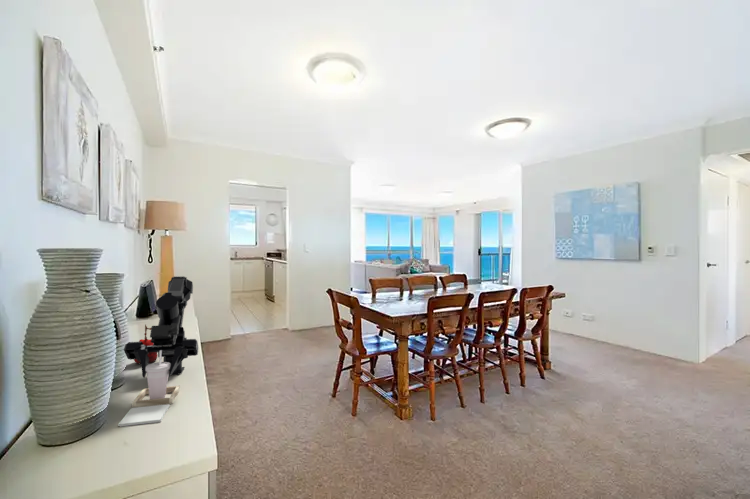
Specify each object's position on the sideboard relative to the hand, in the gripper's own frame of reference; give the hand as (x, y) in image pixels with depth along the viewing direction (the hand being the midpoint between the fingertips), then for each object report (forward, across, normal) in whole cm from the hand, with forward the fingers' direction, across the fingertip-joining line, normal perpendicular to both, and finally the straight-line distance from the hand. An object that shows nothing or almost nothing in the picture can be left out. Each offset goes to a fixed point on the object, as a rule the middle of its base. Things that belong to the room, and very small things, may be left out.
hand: (156, 375), depth 99 cm
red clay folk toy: (-22, -13, +32) cm, 41 cm away
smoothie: (+4, 0, +6) cm, 7 cm away
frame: (+4, 0, +6) cm, 7 cm away
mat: (+12, 0, -2) cm, 12 cm away
